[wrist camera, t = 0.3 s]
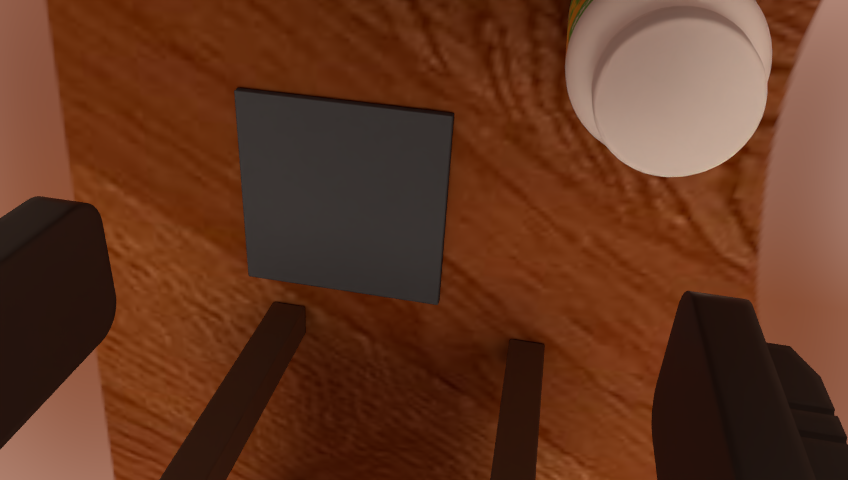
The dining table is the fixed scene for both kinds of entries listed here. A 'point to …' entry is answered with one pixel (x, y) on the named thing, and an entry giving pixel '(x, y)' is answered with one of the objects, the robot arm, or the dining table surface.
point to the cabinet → (267, 361)
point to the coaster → (344, 193)
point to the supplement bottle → (668, 79)
